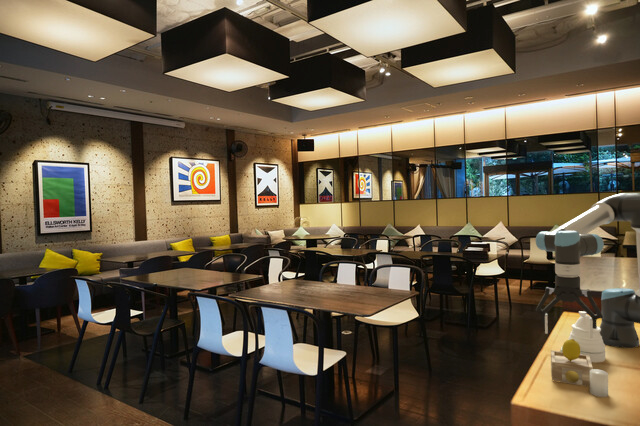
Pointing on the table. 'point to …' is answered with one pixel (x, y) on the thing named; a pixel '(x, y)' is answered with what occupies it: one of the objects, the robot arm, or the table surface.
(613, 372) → the table surface
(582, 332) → the honey pot
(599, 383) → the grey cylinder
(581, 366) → the wooden crate
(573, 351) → the lemon
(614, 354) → the table surface
